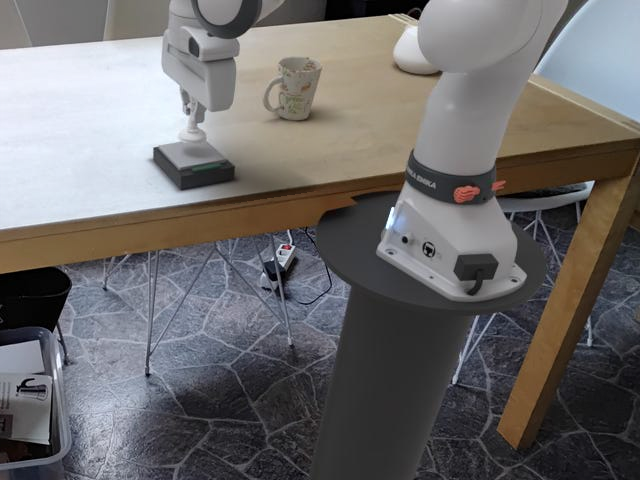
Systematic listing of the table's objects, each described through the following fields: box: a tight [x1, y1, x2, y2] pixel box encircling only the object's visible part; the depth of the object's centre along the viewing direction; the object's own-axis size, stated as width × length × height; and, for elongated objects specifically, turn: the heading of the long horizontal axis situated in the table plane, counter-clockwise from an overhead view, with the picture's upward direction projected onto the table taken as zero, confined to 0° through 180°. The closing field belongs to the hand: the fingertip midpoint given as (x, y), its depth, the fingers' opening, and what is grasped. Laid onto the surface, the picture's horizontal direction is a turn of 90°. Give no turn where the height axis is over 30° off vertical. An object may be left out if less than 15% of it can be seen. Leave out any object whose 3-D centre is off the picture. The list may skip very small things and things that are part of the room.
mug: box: [262, 56, 323, 121], centre depth 141 cm, size 8×13×10 cm, turn 125°
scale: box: [152, 140, 236, 191], centre depth 126 cm, size 12×10×3 cm
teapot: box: [392, 24, 440, 75], centre depth 163 cm, size 20×12×10 cm, turn 10°
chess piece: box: [177, 93, 207, 144], centre depth 120 cm, size 5×5×10 cm
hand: (193, 117), depth 121 cm, fingers closed on chess piece
